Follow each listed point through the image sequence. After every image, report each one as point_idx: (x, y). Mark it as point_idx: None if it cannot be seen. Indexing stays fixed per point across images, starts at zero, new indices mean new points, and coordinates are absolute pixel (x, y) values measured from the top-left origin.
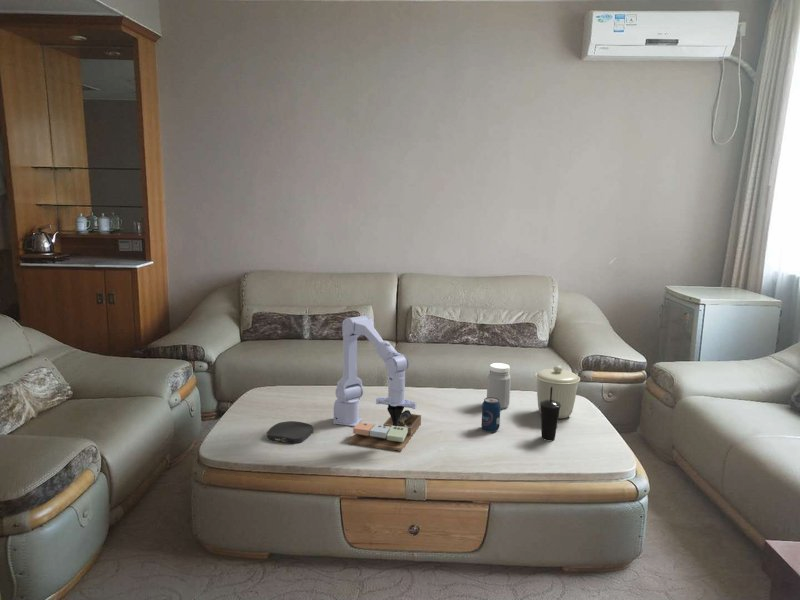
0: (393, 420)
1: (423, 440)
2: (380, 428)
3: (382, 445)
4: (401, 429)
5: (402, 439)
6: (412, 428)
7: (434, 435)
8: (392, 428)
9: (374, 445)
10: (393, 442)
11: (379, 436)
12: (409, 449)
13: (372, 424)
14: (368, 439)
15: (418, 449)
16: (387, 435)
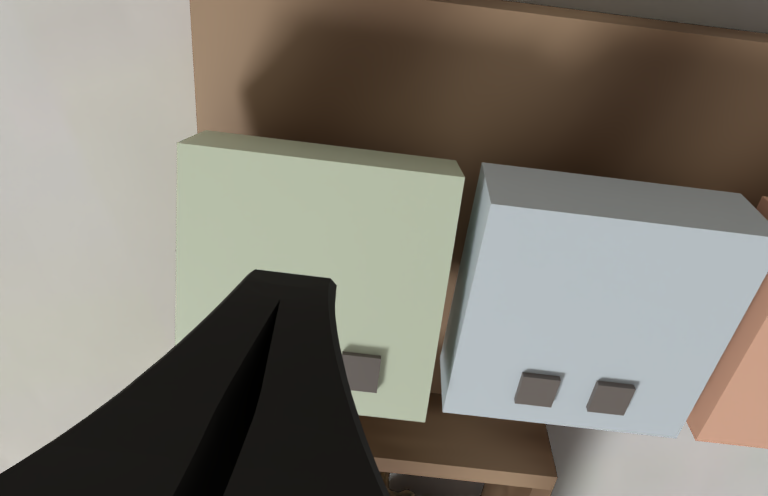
0: (292, 349)
1: (81, 326)
2: (594, 342)
3: (505, 15)
4: None
5: (195, 138)
6: None
7: (35, 432)
8: (401, 357)
9: (632, 21)
10: None
11: (584, 180)
12: (128, 68)
13: (722, 436)
14: (731, 175)
15: (21, 95)
16: (450, 175)
